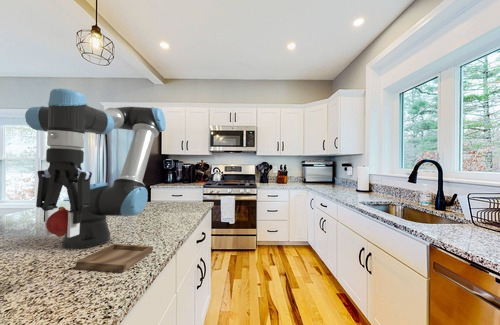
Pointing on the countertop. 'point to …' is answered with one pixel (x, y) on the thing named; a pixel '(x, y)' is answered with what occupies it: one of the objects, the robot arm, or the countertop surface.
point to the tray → (115, 258)
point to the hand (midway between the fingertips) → (62, 234)
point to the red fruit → (58, 222)
